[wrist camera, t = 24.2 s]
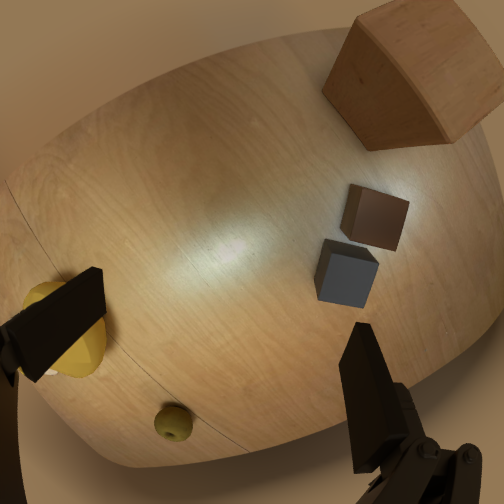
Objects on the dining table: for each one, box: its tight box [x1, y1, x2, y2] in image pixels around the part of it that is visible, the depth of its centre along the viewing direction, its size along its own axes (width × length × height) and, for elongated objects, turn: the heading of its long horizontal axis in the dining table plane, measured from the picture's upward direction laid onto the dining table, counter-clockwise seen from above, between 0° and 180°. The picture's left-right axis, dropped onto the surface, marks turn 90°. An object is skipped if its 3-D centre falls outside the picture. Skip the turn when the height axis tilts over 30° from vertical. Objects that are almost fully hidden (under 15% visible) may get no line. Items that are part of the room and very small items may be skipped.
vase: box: [18, 282, 107, 378], centre depth 37 cm, size 18×18×19 cm
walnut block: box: [340, 184, 410, 252], centre depth 31 cm, size 6×6×6 cm
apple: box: [154, 406, 193, 442], centre depth 47 cm, size 8×8×7 cm
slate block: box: [314, 239, 379, 308], centre depth 34 cm, size 6×6×6 cm
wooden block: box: [322, 0, 504, 151], centre depth 20 cm, size 10×10×20 cm
